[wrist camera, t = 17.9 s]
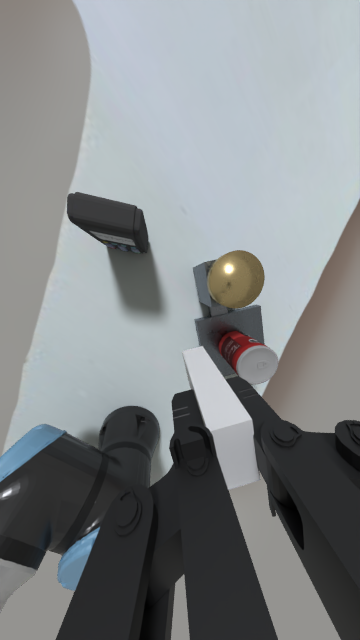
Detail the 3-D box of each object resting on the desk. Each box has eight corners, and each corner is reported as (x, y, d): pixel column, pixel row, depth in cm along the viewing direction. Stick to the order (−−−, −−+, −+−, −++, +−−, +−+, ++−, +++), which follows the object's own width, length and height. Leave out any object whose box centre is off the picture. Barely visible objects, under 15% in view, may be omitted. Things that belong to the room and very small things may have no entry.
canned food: (252, 350, 42) (283, 373, 31) (223, 364, 42) (245, 391, 31) (242, 324, 40) (272, 339, 30) (213, 338, 40) (232, 358, 30)
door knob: (200, 306, 37) (215, 313, 27) (193, 264, 35) (205, 257, 25) (239, 297, 38) (266, 301, 28) (233, 255, 35) (261, 245, 26)
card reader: (103, 247, 35) (63, 222, 21) (104, 227, 34) (64, 185, 20) (147, 256, 36) (138, 237, 22) (149, 236, 36) (142, 204, 21)
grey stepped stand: (205, 376, 44) (218, 402, 35) (184, 269, 38) (192, 264, 28) (261, 361, 46) (289, 382, 36) (250, 255, 39) (280, 245, 29)
